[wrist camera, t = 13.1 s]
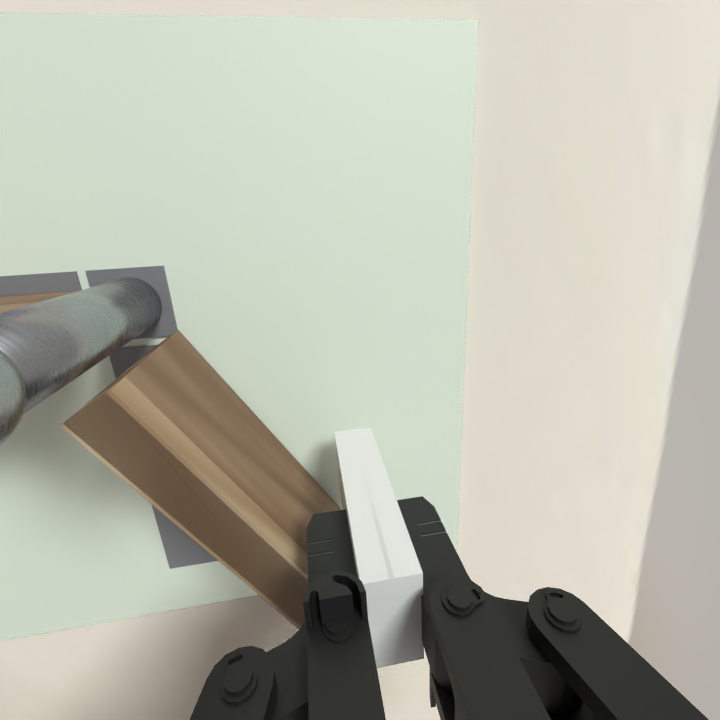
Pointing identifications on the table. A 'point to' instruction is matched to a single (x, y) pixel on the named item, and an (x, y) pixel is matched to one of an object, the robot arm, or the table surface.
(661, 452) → the table surface
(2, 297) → the bar
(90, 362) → the hinge post
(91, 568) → the card
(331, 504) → the board
